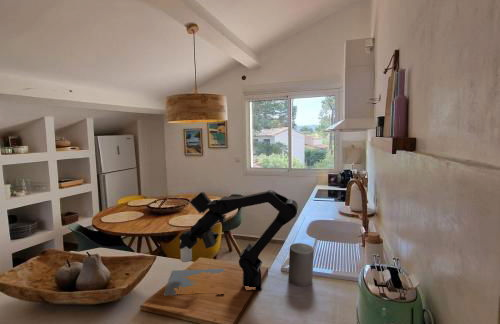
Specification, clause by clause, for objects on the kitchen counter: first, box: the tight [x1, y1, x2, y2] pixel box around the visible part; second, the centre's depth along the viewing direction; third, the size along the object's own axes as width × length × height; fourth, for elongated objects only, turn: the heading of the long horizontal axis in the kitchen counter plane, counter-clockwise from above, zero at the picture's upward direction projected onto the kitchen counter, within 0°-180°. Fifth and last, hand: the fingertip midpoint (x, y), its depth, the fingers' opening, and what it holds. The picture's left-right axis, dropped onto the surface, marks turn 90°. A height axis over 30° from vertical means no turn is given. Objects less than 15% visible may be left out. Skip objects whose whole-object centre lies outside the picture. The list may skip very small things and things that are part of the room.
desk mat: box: [163, 268, 225, 296], centre depth 109 cm, size 22×18×1 cm
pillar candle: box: [288, 242, 315, 287], centre depth 111 cm, size 10×10×15 cm
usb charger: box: [179, 239, 193, 263], centre depth 112 cm, size 4×4×11 cm
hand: (182, 245), depth 112 cm, fingers closed on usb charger, 4 cm apart
